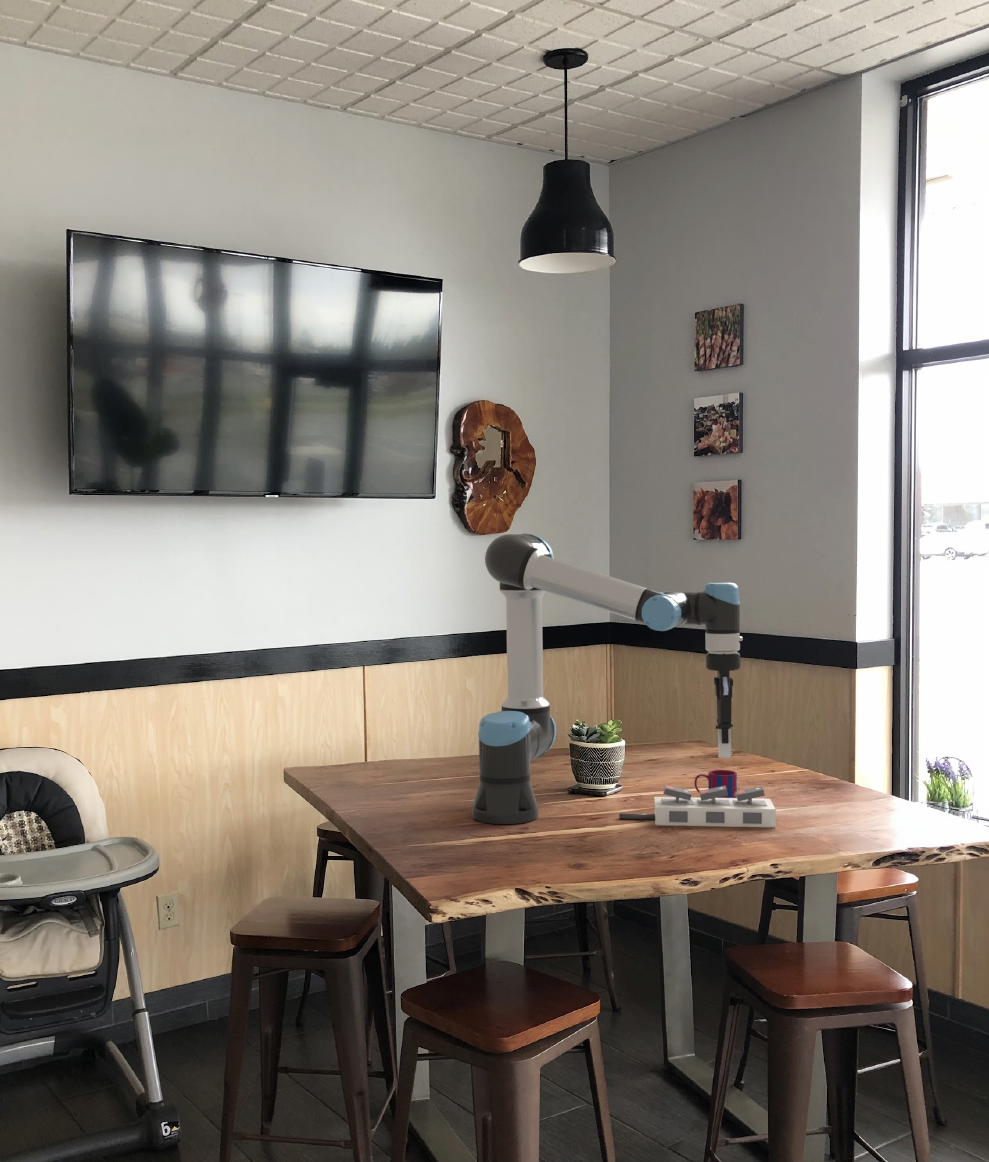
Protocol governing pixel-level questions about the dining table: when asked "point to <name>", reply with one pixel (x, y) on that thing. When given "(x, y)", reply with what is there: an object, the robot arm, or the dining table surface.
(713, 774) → the mug
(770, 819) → the strip
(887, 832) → the dining table surface
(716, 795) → the rocker mid
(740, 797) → the rocker right
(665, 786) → the rocker left
